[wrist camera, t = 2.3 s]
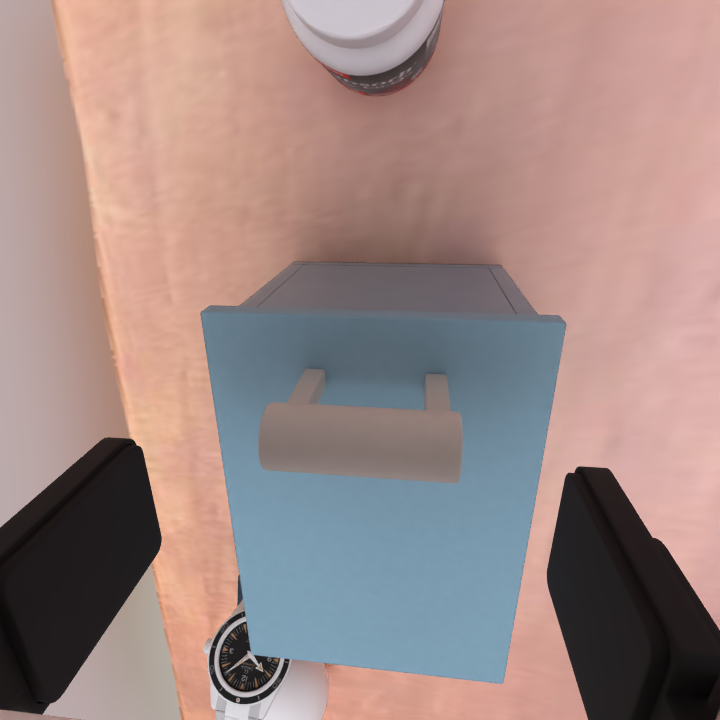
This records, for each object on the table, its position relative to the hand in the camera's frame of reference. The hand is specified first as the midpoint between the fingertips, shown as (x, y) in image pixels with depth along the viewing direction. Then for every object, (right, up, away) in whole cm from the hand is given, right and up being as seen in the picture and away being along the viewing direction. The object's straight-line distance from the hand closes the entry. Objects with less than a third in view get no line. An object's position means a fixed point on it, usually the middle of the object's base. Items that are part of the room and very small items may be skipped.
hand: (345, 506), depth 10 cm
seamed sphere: (-5, -22, +30) cm, 38 cm away
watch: (-5, -13, +26) cm, 30 cm away
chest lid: (+1, -3, +8) cm, 9 cm away
